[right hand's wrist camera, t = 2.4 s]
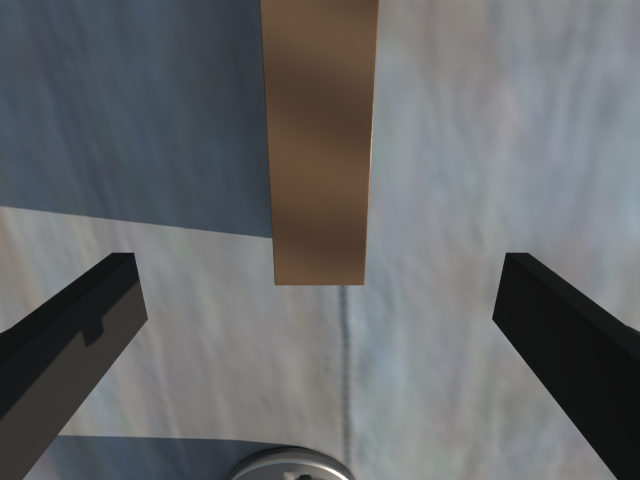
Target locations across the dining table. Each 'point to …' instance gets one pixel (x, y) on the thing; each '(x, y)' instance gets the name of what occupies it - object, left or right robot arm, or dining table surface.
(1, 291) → the dining table surface
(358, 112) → the beam
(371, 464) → the dining table surface
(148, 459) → the dining table surface
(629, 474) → the right robot arm
